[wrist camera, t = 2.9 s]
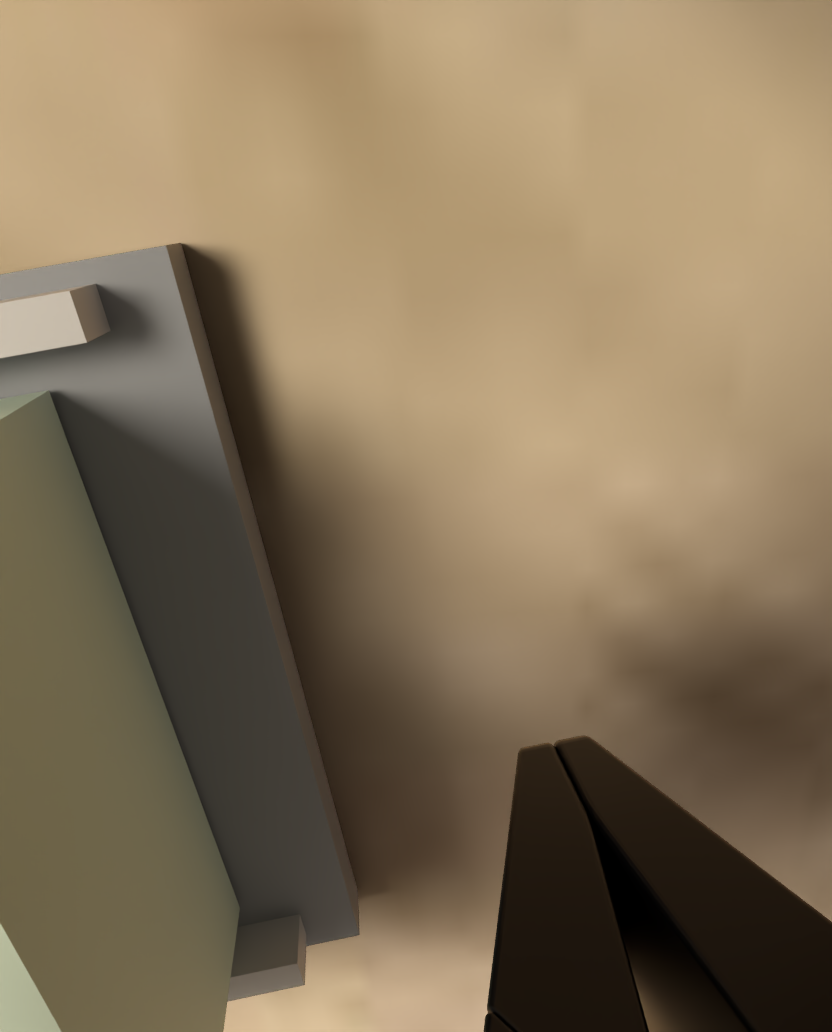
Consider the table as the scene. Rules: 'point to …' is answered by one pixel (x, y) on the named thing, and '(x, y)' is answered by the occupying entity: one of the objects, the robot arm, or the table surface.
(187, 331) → the guide board
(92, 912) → the sliding block
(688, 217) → the table surface
